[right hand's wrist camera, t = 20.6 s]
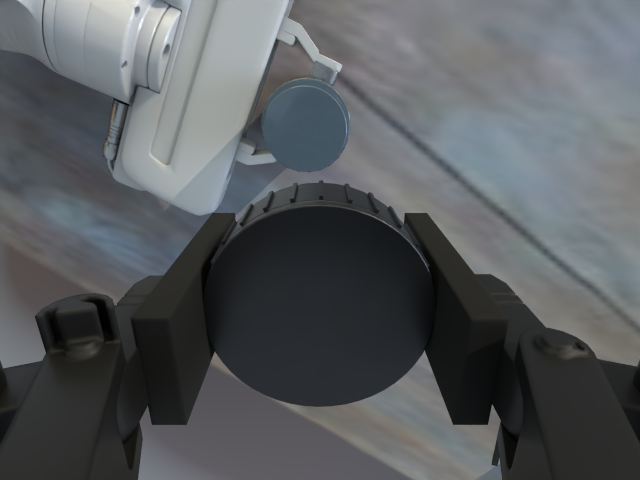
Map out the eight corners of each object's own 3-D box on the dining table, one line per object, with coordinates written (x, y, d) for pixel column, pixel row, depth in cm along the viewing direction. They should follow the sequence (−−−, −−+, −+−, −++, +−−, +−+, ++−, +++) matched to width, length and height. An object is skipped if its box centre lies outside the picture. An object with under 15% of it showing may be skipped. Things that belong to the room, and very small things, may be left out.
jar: (317, 146, 37) (318, 195, 22) (270, 114, 36) (239, 143, 21) (349, 98, 35) (372, 116, 21) (301, 63, 34) (289, 57, 19)
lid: (209, 177, 11) (186, 199, 9) (432, 180, 11) (456, 203, 9) (225, 359, 13) (209, 407, 11) (410, 361, 13) (425, 410, 11)
